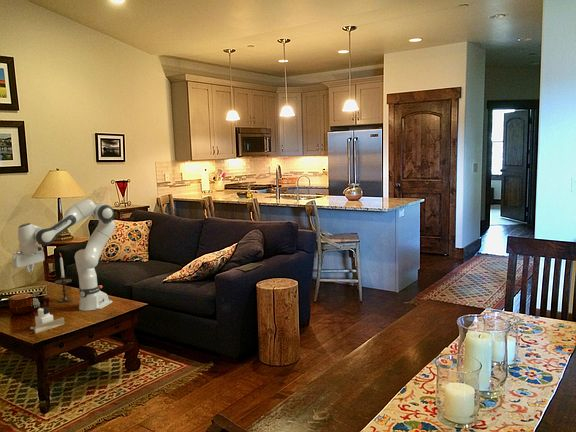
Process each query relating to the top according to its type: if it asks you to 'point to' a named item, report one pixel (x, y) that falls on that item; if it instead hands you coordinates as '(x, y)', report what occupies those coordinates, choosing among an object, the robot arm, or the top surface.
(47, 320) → the medicine bottle
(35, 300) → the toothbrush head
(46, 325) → the beige flat block
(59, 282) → the candlestick
